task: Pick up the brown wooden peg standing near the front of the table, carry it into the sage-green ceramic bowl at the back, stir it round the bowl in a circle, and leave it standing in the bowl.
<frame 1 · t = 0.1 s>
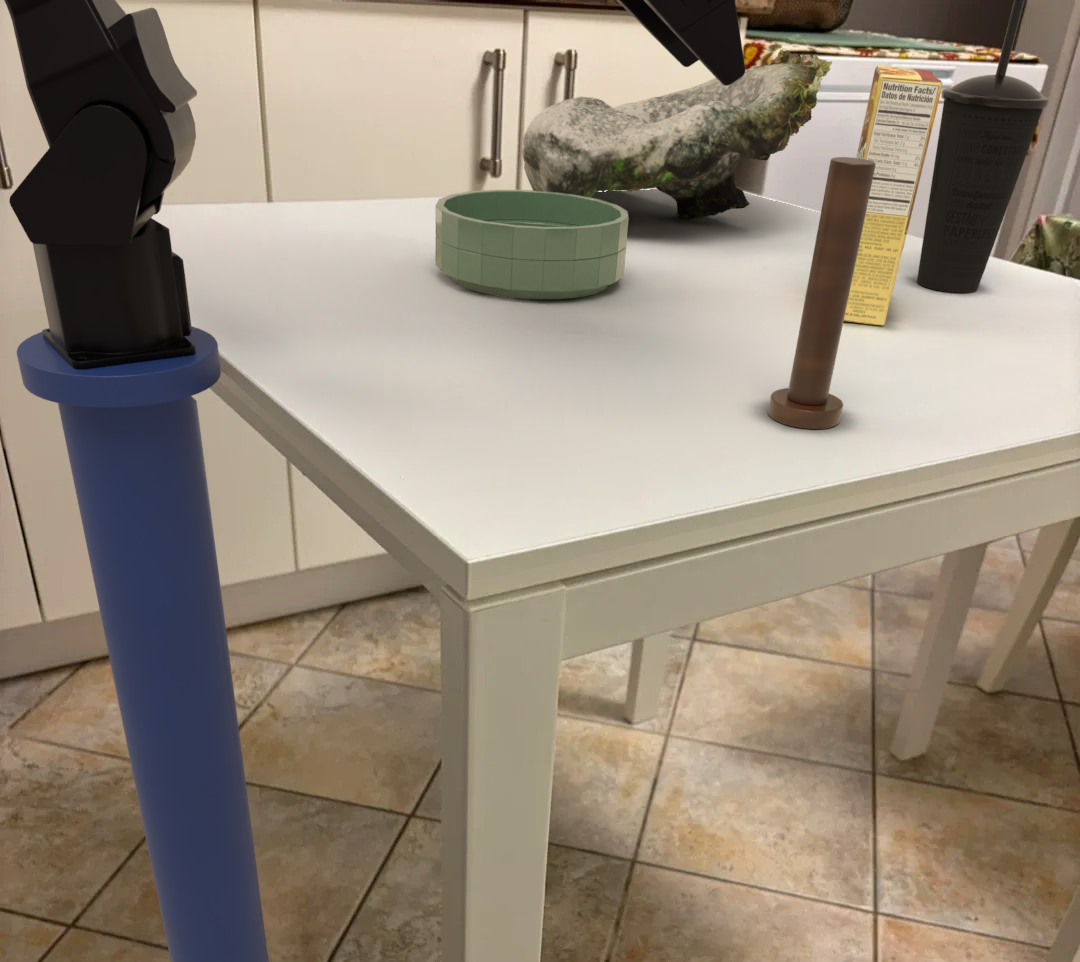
hand: (713, 70, 55), 16 cm above the table, tool tilted 35°, fingers open, 9 cm apart
mixing bowl: (529, 278, 85), on the table
drinking cup: (946, 288, 90), on the table
candy box: (856, 311, 82), on the table
brown wooden peg: (803, 416, 62), on the table
mossy rock: (657, 217, 108), on the table
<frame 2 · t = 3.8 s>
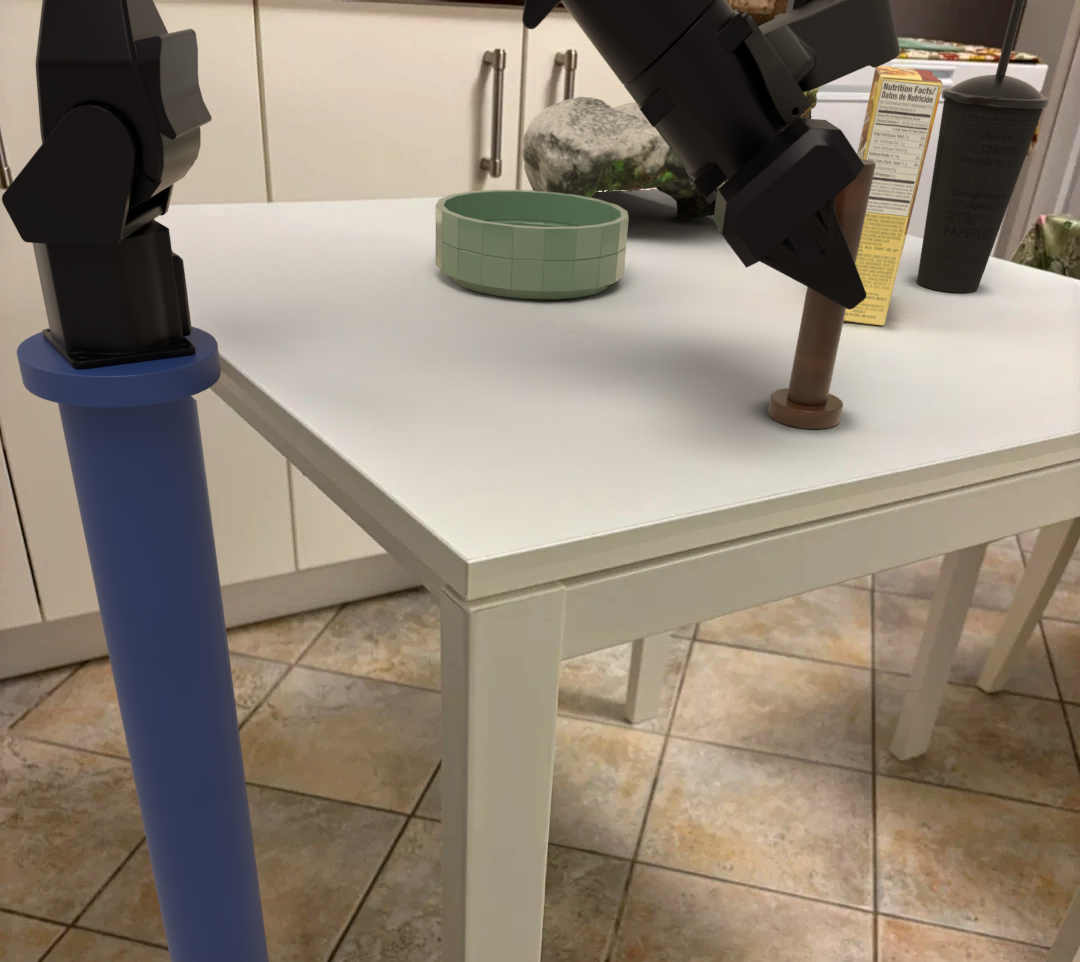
hand: (853, 296, 58), 7 cm above the table, tool tilted 45°, fingers closed on brown wooden peg, 2 cm apart
brown wooden peg: (803, 416, 62), on the table, touching gripper
everything else where it was.
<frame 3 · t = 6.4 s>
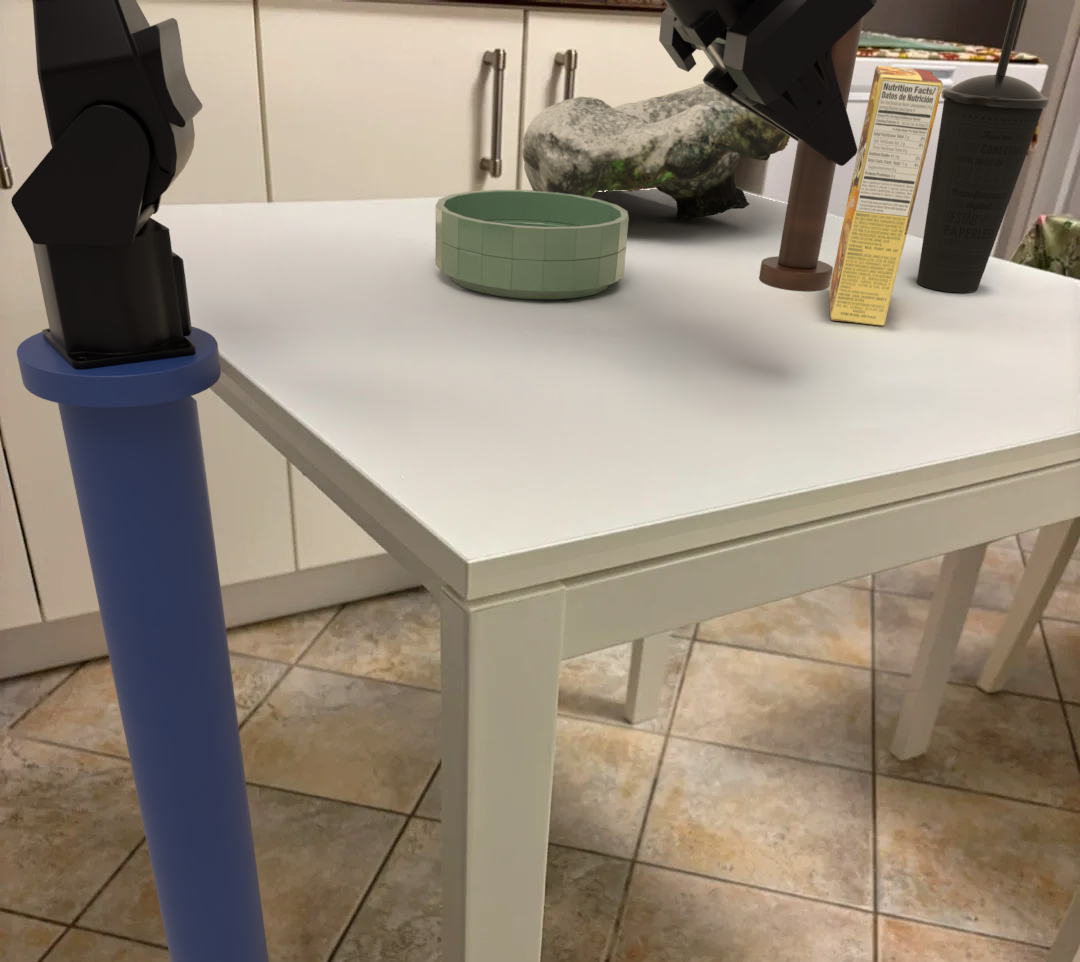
hand: (841, 155, 59), 13 cm above the table, tool tilted 45°, fingers closed on brown wooden peg, 2 cm apart
brown wooden peg: (793, 282, 63), point 6 cm above the table, touching gripper
everything else where it was.
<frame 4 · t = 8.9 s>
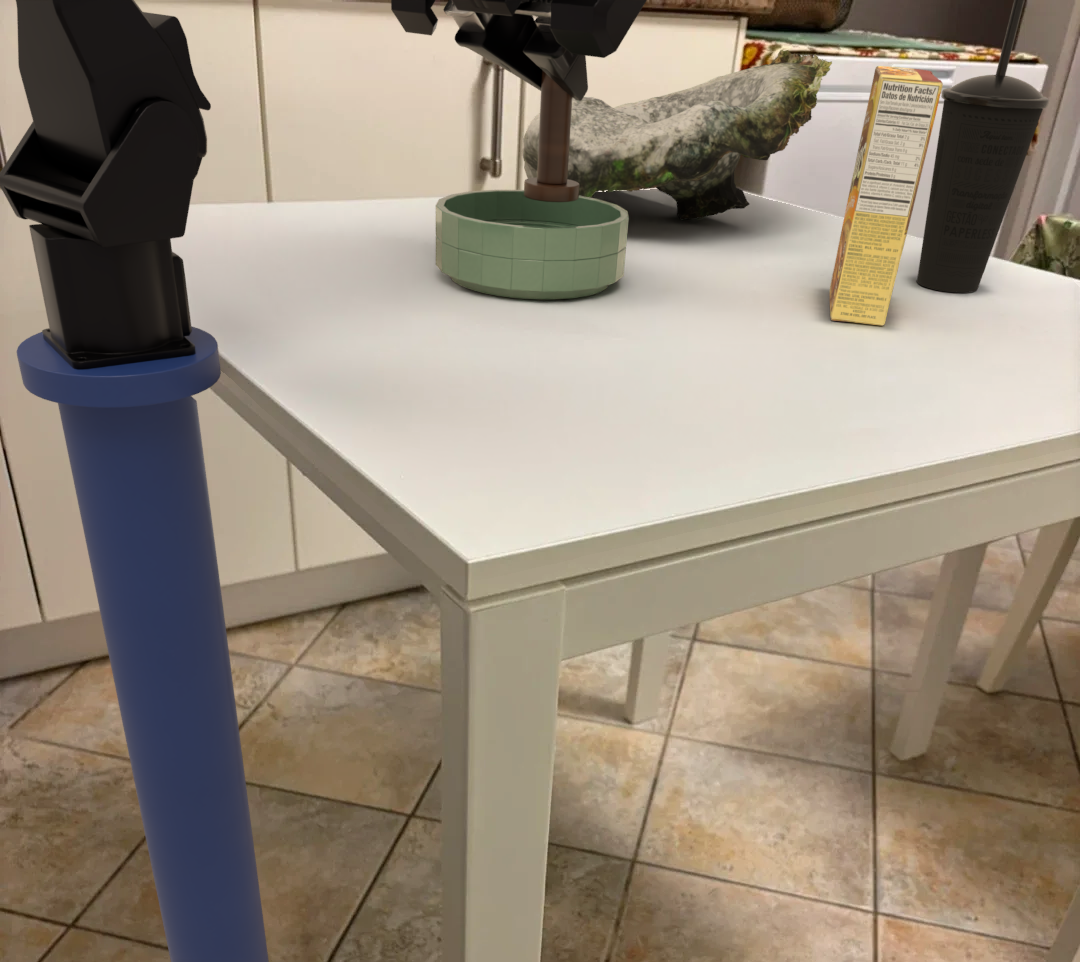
hand: (569, 93, 77), 13 cm above the table, tool tilted 45°, fingers closed on brown wooden peg, 2 cm apart
brown wooden peg: (551, 197, 80), point 6 cm above the table, touching gripper
everything else where it was.
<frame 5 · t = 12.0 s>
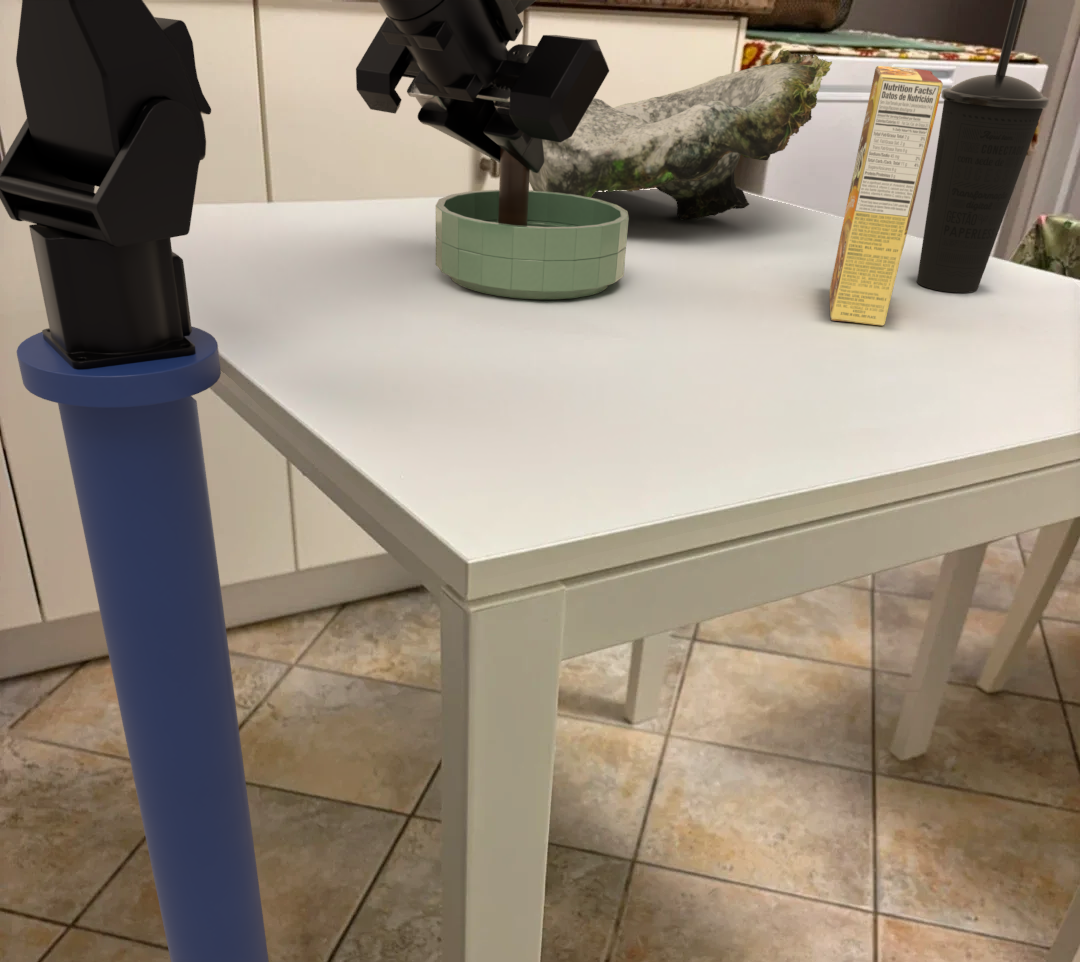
hand: (526, 165, 82), 8 cm above the table, tool tilted 45°, fingers closed on brown wooden peg, 2 cm apart
brown wooden peg: (511, 261, 85), point 1 cm above the table, touching gripper
everything else where it was.
when the fingers open (7 cm above the table, at t = 14.1 s): brown wooden peg stays where it is, resting on mixing bowl.
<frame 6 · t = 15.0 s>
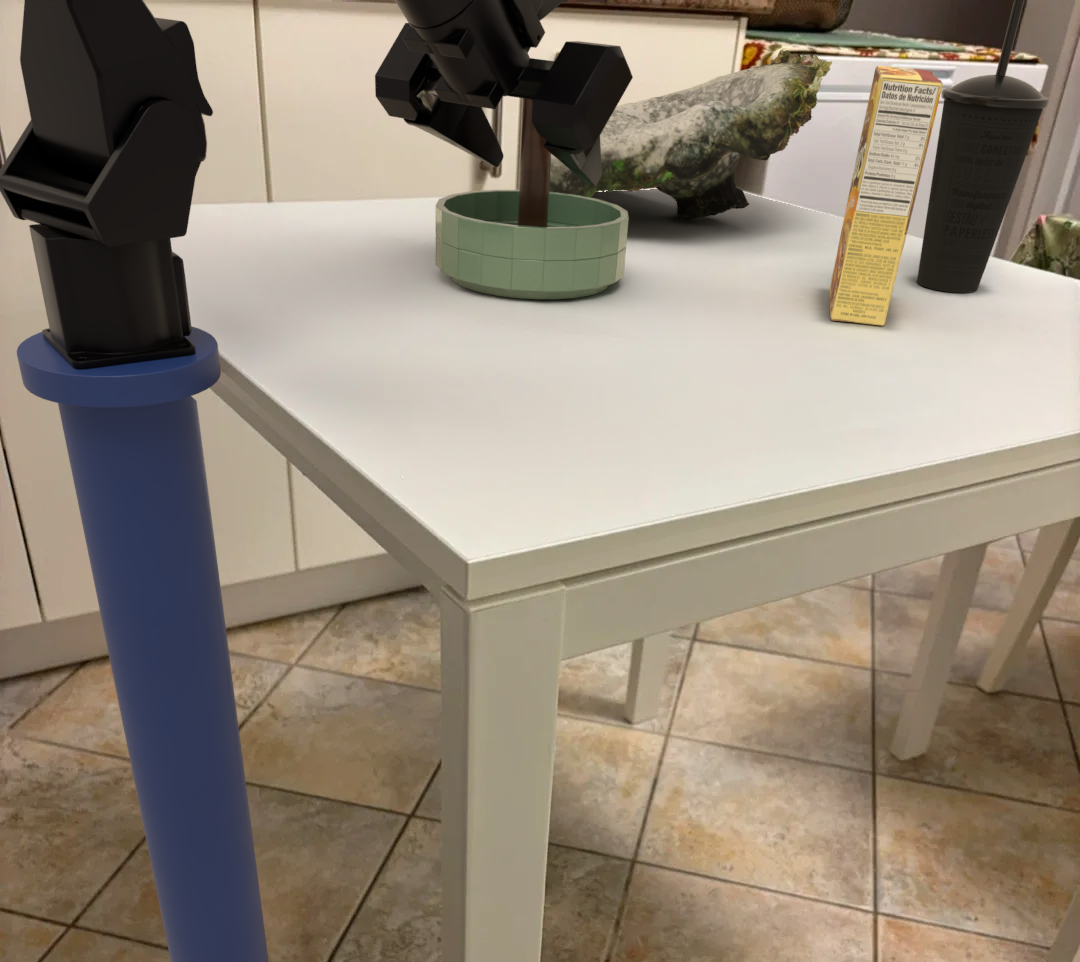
hand: (546, 171, 81), 7 cm above the table, tool tilted 45°, fingers open, 9 cm apart
brown wooden peg: (530, 267, 84), point 1 cm above the table, touching mixing bowl
everything else where it was.
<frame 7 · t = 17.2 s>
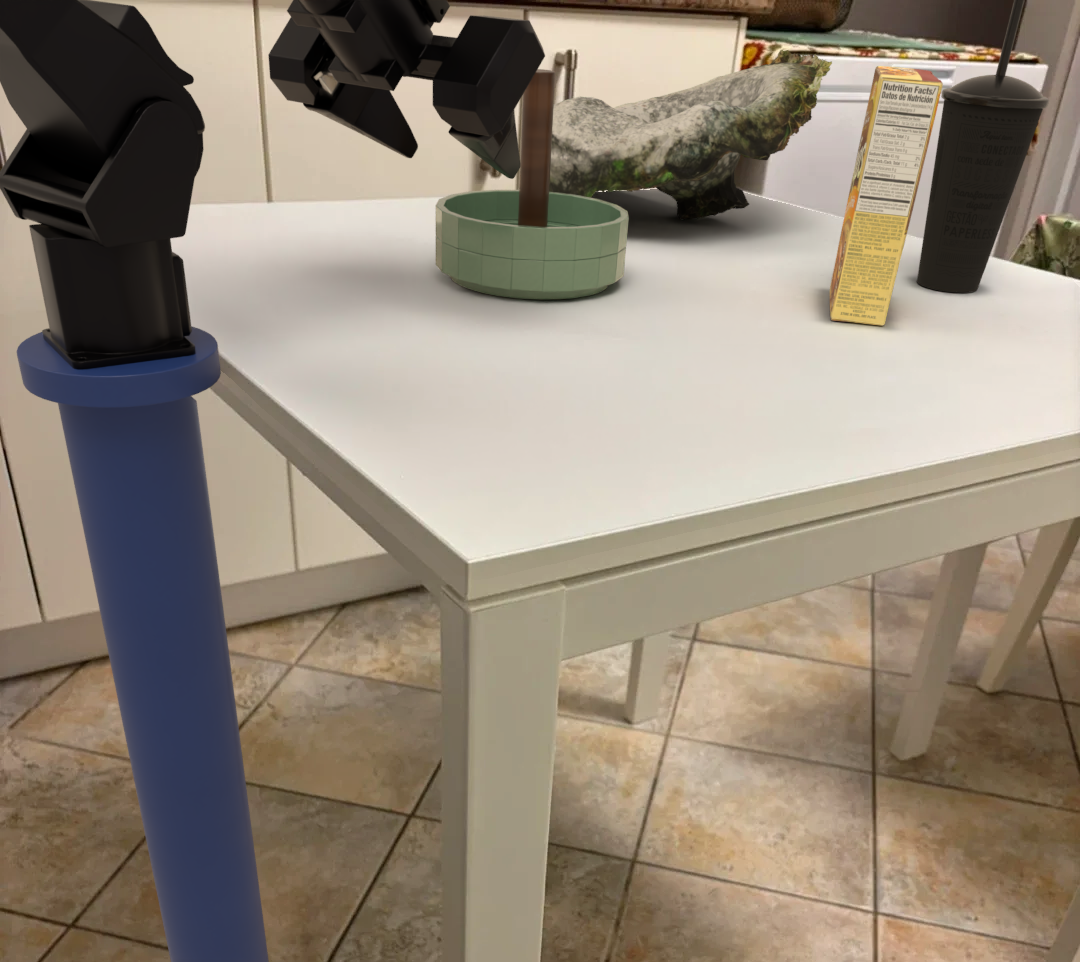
hand: (462, 162, 74), 9 cm above the table, tool tilted 45°, fingers open, 9 cm apart
nothing on the table moved.
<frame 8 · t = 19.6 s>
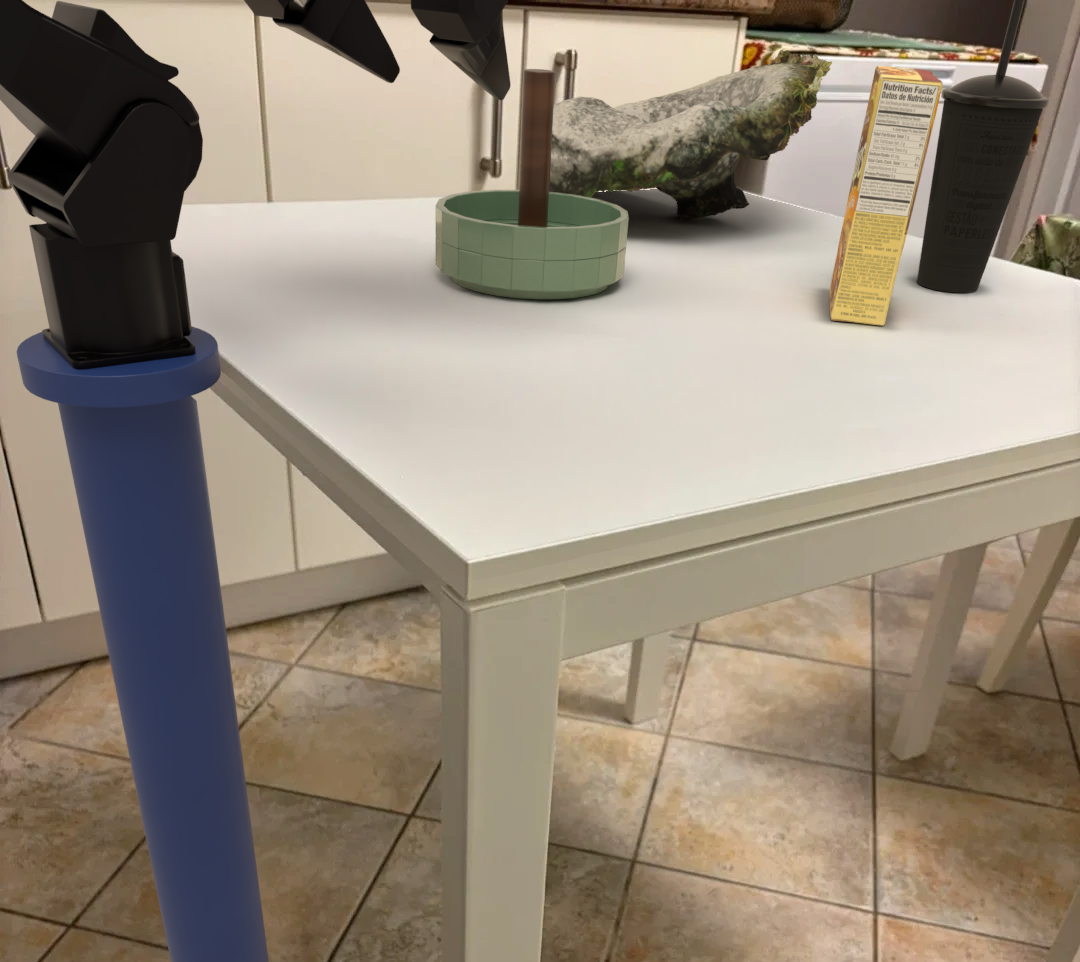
hand: (448, 85, 68), 14 cm above the table, tool tilted 45°, fingers open, 9 cm apart
nothing on the table moved.
at the end: brown wooden peg inside the target area in the mixing bowl (0.0 cm from its centre), point 0.8 cm above the mixing bowl's base; brown wooden peg tilted 0°; brown wooden peg moved 32.1 cm from its start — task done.
